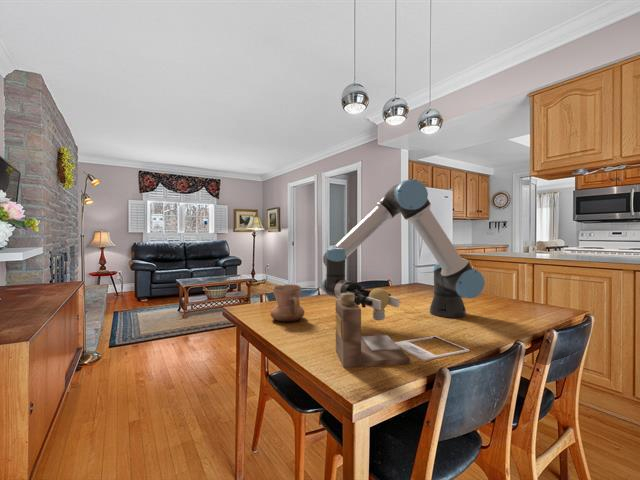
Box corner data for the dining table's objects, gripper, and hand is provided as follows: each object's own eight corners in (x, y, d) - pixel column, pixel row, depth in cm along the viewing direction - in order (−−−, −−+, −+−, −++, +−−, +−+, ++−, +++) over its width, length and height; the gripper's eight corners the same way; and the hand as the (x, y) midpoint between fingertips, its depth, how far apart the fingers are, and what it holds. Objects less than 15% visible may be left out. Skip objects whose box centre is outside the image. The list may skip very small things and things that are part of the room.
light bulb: (393, 320, 99) (393, 288, 99) (379, 323, 96) (379, 290, 95) (378, 315, 105) (378, 286, 104) (364, 318, 101) (364, 287, 101)
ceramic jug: (264, 317, 138) (264, 285, 137) (294, 312, 145) (294, 282, 144) (280, 328, 122) (279, 292, 122) (312, 322, 129) (312, 288, 129)
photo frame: (392, 342, 104) (435, 335, 111) (392, 345, 104) (435, 338, 111) (423, 358, 90) (469, 349, 97) (423, 362, 90) (469, 352, 97)
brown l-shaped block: (384, 337, 110) (384, 283, 109) (409, 363, 88) (410, 296, 88) (330, 340, 107) (329, 285, 107) (342, 367, 86) (342, 298, 85)
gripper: (370, 299, 120) (413, 312, 100) (325, 304, 112) (363, 320, 91) (370, 279, 120) (413, 289, 100) (325, 283, 112) (363, 294, 91)
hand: (389, 304), depth 95 cm, fingers closed on light bulb, 6 cm apart
